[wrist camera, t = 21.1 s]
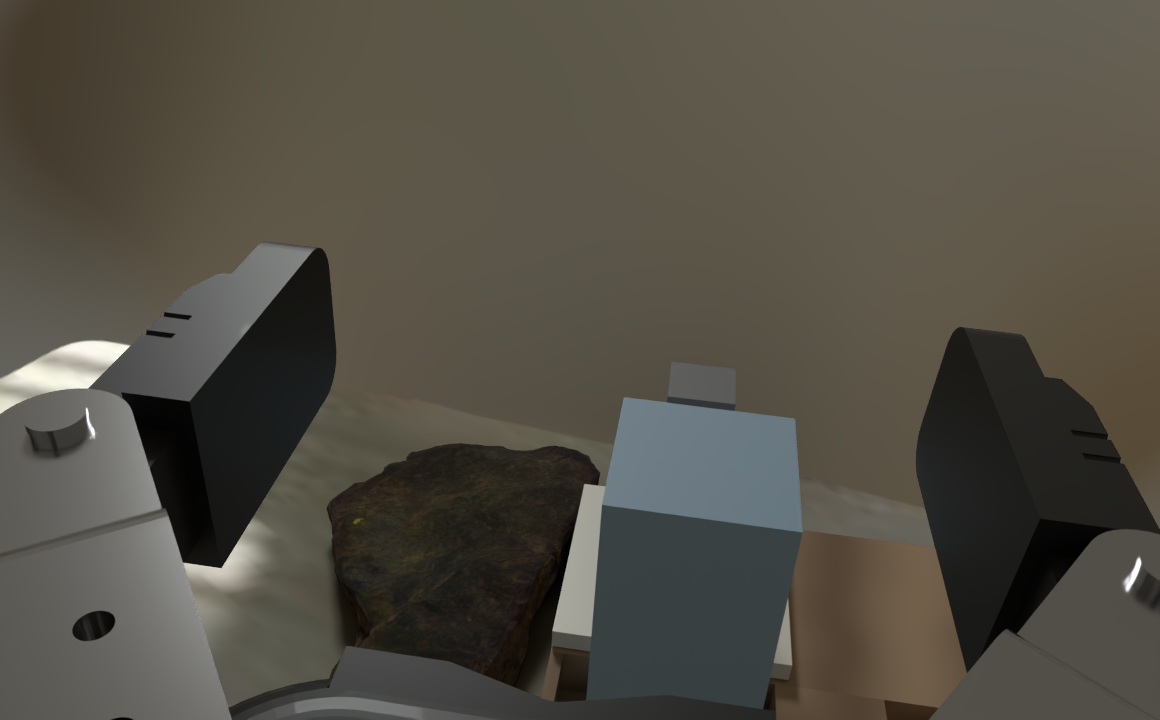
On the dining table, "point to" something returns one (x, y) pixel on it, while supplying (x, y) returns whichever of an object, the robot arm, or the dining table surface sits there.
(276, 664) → the dining table surface
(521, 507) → the stone
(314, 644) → the dining table surface
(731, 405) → the lid
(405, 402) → the dining table surface
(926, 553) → the board
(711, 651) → the block
